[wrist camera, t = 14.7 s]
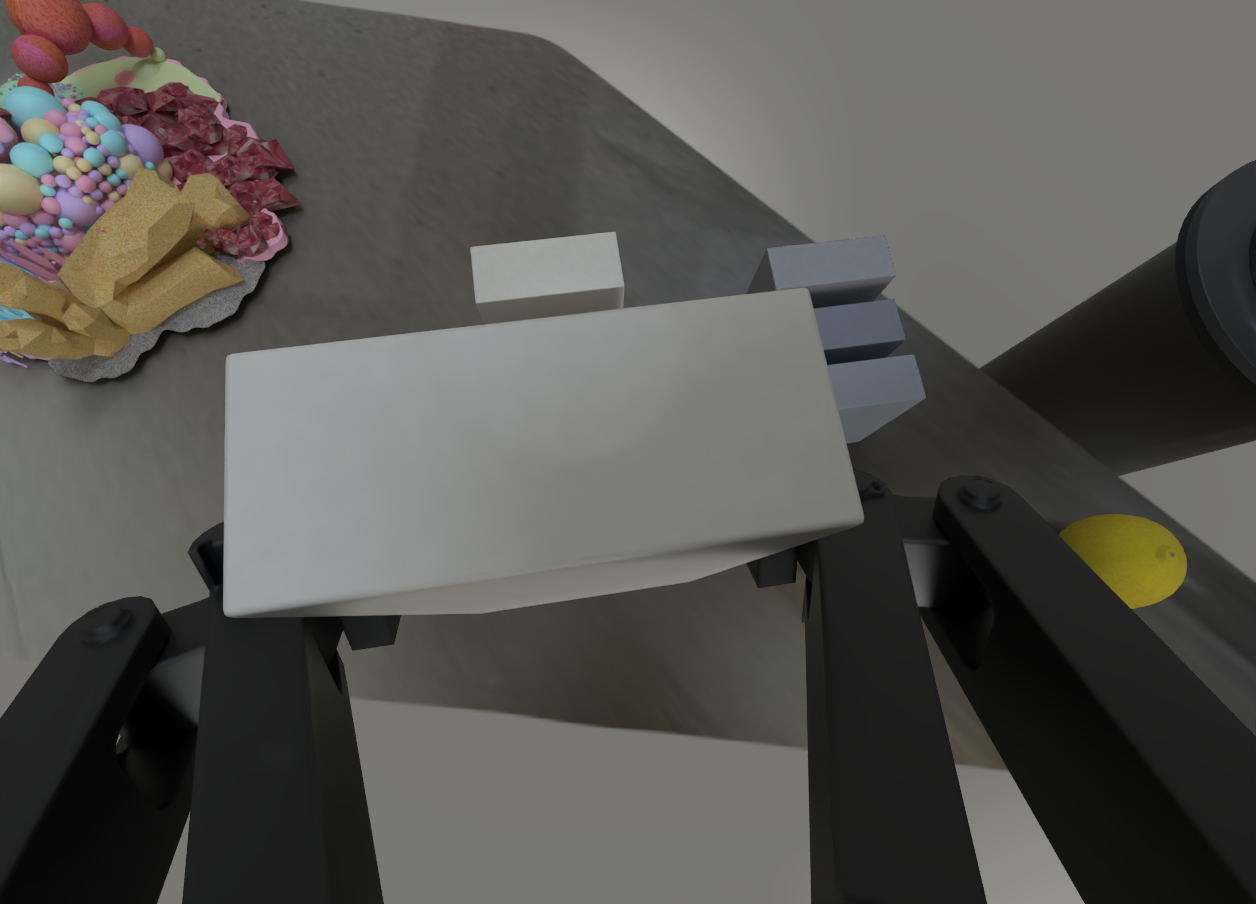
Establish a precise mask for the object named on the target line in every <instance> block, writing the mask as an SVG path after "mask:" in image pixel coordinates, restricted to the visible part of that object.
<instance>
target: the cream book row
mask: <svg viewBox="0 0 1256 904" xmlns="http://www.w3.org/2000/svg"><path fill="white" fill-rule="evenodd" d="M470 251H471V261H472V271H473V282H474V292H475V302H476V305H477V308H478V310H479V312H480V315H481V317H482V320H483V322H484V325H486V324H494V323H503V322H512V321H520V320H529V319H537V318H546V317H555V316H563V315H572V314H581V313H589V312H598V311H606V310H615V309H623V300H624V280H623V274H622V268H621V262H620V255H619V249H618V243H617V237H616V232H607V233H598V234H588V235H579V236H570V237H560V238H551V239H542V240H532V241H523V242H514V243H504V244H495V245H485V246H476V247H471V248H470Z"/></svg>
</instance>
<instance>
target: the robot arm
mask: <svg viewBox="0 0 1256 904" xmlns="http://www.w3.org/2000/svg"><path fill="white" fill-rule="evenodd" d="M1249 257H1250V269H1251V274H1252V278H1253V282H1254V285H1255V288H1256V229H1255V231H1254V233H1253V236H1252V240H1251V245H1250V256H1249ZM853 472H854V477H855V481H856V485H857V489H858V493H859V497H860V501H861V505H862V509H863V513H864V521H863V523H861V524H860V525H858V526H856V527H853V528H850V529H847V530H844V531H841V532H838V533H835V534H832V535H829V536H826V537H823V538H820V539H817V540H813V541H810V542H807V543H804V544H801V545H798V546H795V547H792V548H789V549H786V550H783V551H780V552H777V553H774V554H771V555H768V556H765V557H762V558H759V559H756V560H753V561H750V562H747V565H748V567H749V569H750V572H751V574H752V576H753V578H754V580H755V583H756V585H757V587H758V588H762V587H769V586H775V585H782V584H788V583H795V581H796V569H797V560H798V562H799V564H800V565H801V567H802V569H803V571H804V572H805V574H806V582H805V592H804V602H803V613H802V622H805V642H806V687H807V732H808V776H809V816H810V817H809V819H810V820H809V821H810V864H811V904H987V901H986V897H985V893H984V888H983V884H982V879H981V876H980V871H979V867H978V862H977V858H976V854H975V849H974V845H973V841H972V837H971V833H970V828H969V824H968V819H967V815H966V811H965V806H964V802H963V798H962V794H961V790H960V785H959V781H958V776H957V772H956V768H955V763H954V759H953V755H952V751H951V746H950V742H949V738H948V733H947V729H946V725H945V721H944V716H943V712H942V708H941V703H940V699H939V695H938V690H937V686H936V682H935V678H934V673H933V669H932V665H931V660H930V656H929V652H928V647H927V643H926V639H925V635H924V630H923V626H922V622H921V617H922V619H923V621H924V623H925V624H926V626H927V628H928V630H929V631H930V633H931V635H932V637H933V638H934V640H935V642H936V644H937V645H938V647H939V649H940V651H941V652H942V654H943V656H944V658H945V660H946V661H947V663H948V665H949V667H950V668H951V670H952V672H953V674H954V675H955V677H956V679H957V681H958V682H959V684H960V686H961V688H962V689H963V691H964V693H965V695H966V696H967V698H968V700H969V702H970V703H971V705H972V707H973V709H974V710H975V712H976V714H977V716H978V717H979V719H980V721H981V723H982V724H983V726H984V728H985V730H986V731H987V733H988V735H989V737H990V738H991V740H992V742H993V744H994V745H995V747H996V749H997V751H998V752H999V754H1000V756H1001V758H1002V759H1003V761H1004V763H1005V765H1006V766H1007V768H1008V770H1009V772H1010V773H1011V775H1012V777H1013V779H1014V780H1015V782H1016V784H1017V786H1018V787H1019V789H1020V791H1021V793H1022V794H1023V796H1024V798H1025V800H1026V801H1027V803H1028V805H1029V807H1030V808H1031V810H1032V812H1033V814H1034V815H1035V817H1036V819H1037V821H1038V822H1039V824H1040V826H1041V827H1042V829H1043V831H1044V833H1045V835H1046V837H1047V838H1048V840H1049V842H1050V843H1051V845H1052V847H1053V849H1054V850H1055V852H1056V854H1057V856H1058V858H1059V859H1060V861H1061V863H1062V865H1063V866H1064V868H1065V870H1066V871H1067V873H1068V875H1069V877H1070V878H1071V880H1072V882H1073V884H1074V886H1075V887H1076V889H1077V891H1078V893H1079V894H1080V896H1081V898H1082V900H1083V901H1084V903H1085V904H1256V736H1255V735H1254V734H1253V733H1252V732H1251V731H1250V730H1249V729H1248V728H1247V727H1246V726H1245V725H1244V724H1243V723H1242V722H1241V721H1240V720H1239V719H1238V718H1237V717H1236V716H1235V715H1234V714H1233V713H1232V712H1231V711H1230V710H1229V709H1228V708H1227V707H1226V706H1225V705H1224V704H1223V703H1222V702H1221V701H1220V699H1219V698H1218V697H1217V696H1216V695H1215V694H1214V693H1213V692H1212V691H1211V690H1210V689H1209V688H1208V687H1207V686H1206V685H1205V684H1204V683H1203V682H1202V681H1201V680H1200V679H1199V678H1198V677H1197V676H1196V675H1195V674H1194V673H1193V672H1192V671H1191V670H1190V669H1189V668H1188V667H1187V666H1186V665H1185V664H1184V663H1183V662H1182V661H1181V660H1180V659H1179V658H1178V657H1177V656H1176V655H1175V654H1174V652H1173V651H1172V650H1171V649H1170V648H1169V647H1168V646H1167V645H1166V644H1165V643H1164V642H1163V641H1162V640H1161V639H1160V638H1159V637H1158V636H1157V635H1156V634H1155V633H1154V632H1153V631H1152V630H1151V629H1150V628H1149V627H1148V626H1147V625H1146V624H1145V623H1144V622H1143V621H1142V620H1141V619H1140V618H1139V617H1138V616H1137V615H1136V614H1135V613H1134V612H1133V611H1132V610H1131V609H1130V608H1129V606H1128V605H1127V604H1126V603H1125V602H1124V601H1123V600H1122V599H1121V598H1120V597H1119V596H1118V595H1117V594H1116V593H1115V592H1114V591H1113V590H1112V589H1111V588H1110V587H1109V586H1108V585H1107V584H1106V583H1105V582H1104V581H1103V580H1102V579H1101V578H1100V577H1099V576H1098V575H1097V574H1096V573H1095V572H1094V571H1093V570H1092V569H1091V568H1090V567H1089V566H1088V565H1087V564H1086V563H1085V562H1084V560H1083V559H1082V558H1081V557H1080V556H1079V555H1078V554H1077V553H1076V552H1075V551H1074V550H1073V549H1072V548H1071V547H1070V546H1069V545H1068V544H1067V543H1066V542H1065V541H1064V540H1063V539H1062V538H1061V537H1060V536H1059V535H1058V534H1057V533H1056V532H1055V531H1054V530H1053V529H1052V528H1051V527H1050V526H1049V525H1048V524H1047V523H1046V522H1045V521H1044V520H1043V519H1042V518H1041V517H1040V516H1039V515H1038V513H1037V512H1036V511H1035V510H1034V509H1033V508H1032V507H1031V506H1030V505H1029V504H1028V503H1027V502H1026V501H1025V500H1024V499H1023V498H1022V497H1021V496H1020V495H1019V494H1018V493H1016V492H1015V491H1014V490H1012V489H1011V488H1010V487H1008V486H1007V485H1004V484H1002V483H999V482H997V481H995V480H993V479H989V478H983V477H979V476H958V477H953V478H949V479H947V480H945V481H944V482H942V483H941V484H940V487H939V489H938V493H937V497H936V498H919V497H904V496H896V495H892V493H891V491H890V489H889V487H888V486H887V484H886V483H884V482H883V481H881V480H880V479H879V478H877V477H875V476H872V475H869V474H867V473H864V472H857V471H853ZM188 554H189V556H190V557H191V559H192V561H193V563H194V564H195V566H196V568H197V570H198V571H199V573H200V575H201V577H202V578H203V580H204V582H205V584H206V585H207V587H208V589H209V591H210V595H209V597H208V598H206V599H203V600H201V601H198V602H195V603H192V604H189V605H186V606H183V607H180V608H177V609H174V610H172V611H169V612H166V613H163V614H161V613H160V612H159V610H158V609H157V607H156V605H155V604H154V602H153V601H152V599H149V598H145V597H142V596H138V597H127V598H122V599H119V600H116V601H113V602H108V603H106V604H103V605H101V606H99V607H98V608H94V609H93V610H91V611H89V612H87V613H86V614H85V615H84V616H82V617H81V618H79V619H78V620H76V621H75V622H73V623H72V624H71V625H70V626H69V627H68V628H67V629H66V630H65V631H64V632H63V633H62V634H61V635H60V636H59V637H58V639H57V640H56V642H55V643H54V644H53V646H52V647H51V649H50V650H49V651H48V653H47V654H46V655H45V657H44V658H43V660H42V661H41V662H40V664H39V665H38V667H37V668H36V669H35V671H34V672H33V674H32V675H31V677H30V678H29V679H28V681H27V682H26V683H25V685H24V686H23V688H22V689H21V690H20V692H19V693H18V695H17V696H16V697H15V699H14V700H13V702H12V703H11V705H10V706H9V707H8V709H7V710H6V712H5V713H4V714H3V716H2V717H1V718H0V904H157V902H158V899H159V896H160V893H161V891H162V888H163V885H164V881H165V879H166V877H167V873H168V871H169V868H170V865H171V863H172V860H173V857H174V854H175V851H176V849H177V846H178V843H179V840H180V837H181V834H182V832H183V829H184V826H185V824H186V821H187V818H188V815H189V812H190V821H189V833H188V845H187V855H186V867H185V878H184V889H183V901H182V904H384V902H383V896H382V890H381V884H380V878H379V872H378V866H377V861H376V854H375V849H374V842H373V836H372V830H371V824H370V818H369V813H368V806H367V800H366V795H365V789H364V783H363V777H362V771H361V765H360V759H359V753H358V747H357V741H356V735H355V729H354V723H353V718H352V711H351V705H350V699H349V693H348V687H347V681H346V675H345V669H344V664H343V662H342V660H341V658H340V656H339V654H338V651H337V646H338V643H339V640H340V637H341V634H342V631H343V630H344V632H345V635H346V637H347V639H348V641H349V644H350V646H351V648H352V650H360V649H366V648H373V647H379V646H386V645H392V644H394V642H395V638H396V634H397V630H398V626H399V622H400V618H401V615H370V616H318V617H265V618H231V617H227V616H226V615H225V614H224V611H223V565H224V522H222V523H219V524H217V525H216V526H214V527H212V528H211V529H209V530H207V531H206V532H204V533H203V534H202V535H200V536H199V537H198V538H197V539H196V540H195V541H194V542H193V543H192V545H191V547H190V549H189V551H188ZM920 616H921V617H920ZM119 734H120V736H121V737H120V739H119V741H118V743H117V745H116V742H117V739H118V736H119Z"/></svg>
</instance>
